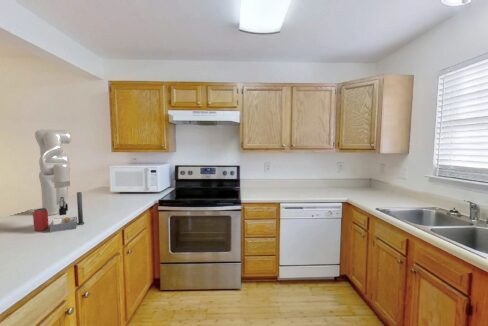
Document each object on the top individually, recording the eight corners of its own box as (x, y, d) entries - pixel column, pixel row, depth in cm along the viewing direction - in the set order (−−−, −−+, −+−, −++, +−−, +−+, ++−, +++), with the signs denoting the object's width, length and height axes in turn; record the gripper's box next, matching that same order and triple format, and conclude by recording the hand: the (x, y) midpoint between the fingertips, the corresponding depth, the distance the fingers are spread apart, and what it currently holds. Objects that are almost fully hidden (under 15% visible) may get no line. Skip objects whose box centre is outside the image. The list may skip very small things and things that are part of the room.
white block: (54, 222, 142) (54, 217, 142) (60, 221, 143) (60, 216, 143) (53, 224, 138) (53, 219, 138) (60, 223, 140) (59, 218, 140)
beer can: (31, 232, 138) (30, 211, 137) (37, 228, 144) (36, 208, 143) (45, 231, 139) (44, 210, 138) (51, 227, 146) (49, 207, 145)
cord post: (77, 223, 152) (75, 192, 151) (84, 222, 154) (82, 191, 153) (77, 225, 149) (75, 193, 148) (84, 224, 151) (82, 192, 150)
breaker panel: (53, 226, 148) (52, 217, 147) (77, 222, 154) (76, 214, 154) (50, 232, 138) (49, 222, 137) (76, 228, 144) (75, 219, 143)
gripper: (56, 182, 149) (57, 210, 150) (52, 187, 134) (53, 217, 136) (71, 182, 153) (72, 208, 154) (68, 186, 138) (70, 215, 140)
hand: (63, 212), depth 145 cm, fingers open, 9 cm apart
